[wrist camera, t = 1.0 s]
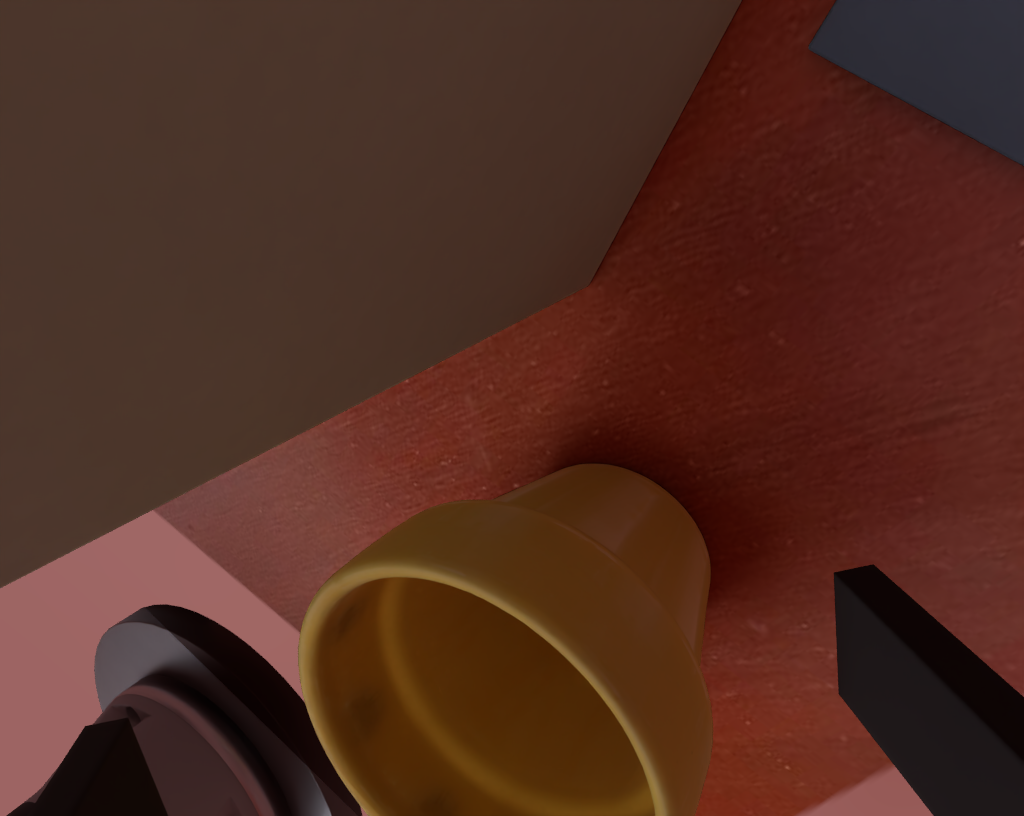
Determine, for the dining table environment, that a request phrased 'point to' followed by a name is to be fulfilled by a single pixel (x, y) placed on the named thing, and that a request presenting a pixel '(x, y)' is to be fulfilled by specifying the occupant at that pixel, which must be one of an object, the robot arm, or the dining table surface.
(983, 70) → the mat
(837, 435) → the dining table surface
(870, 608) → the robot arm
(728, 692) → the dining table surface
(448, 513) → the flower pot
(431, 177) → the stand
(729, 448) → the dining table surface
